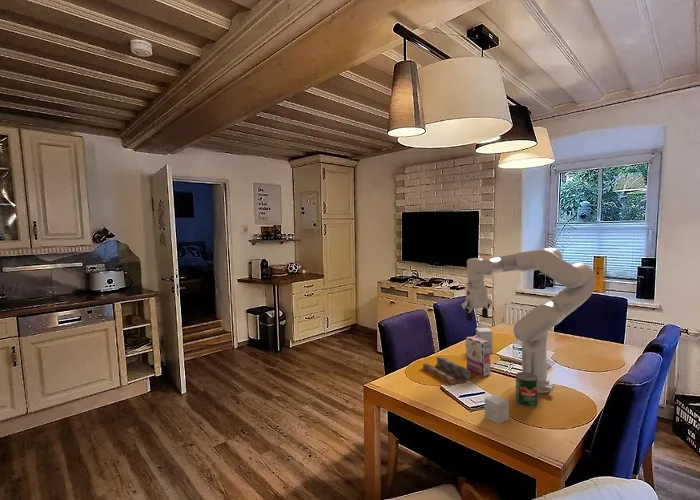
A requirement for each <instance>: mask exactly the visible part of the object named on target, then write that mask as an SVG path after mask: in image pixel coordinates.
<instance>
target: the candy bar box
mask: <svg viewBox="0 0 700 500" xmlns="http://www.w3.org/2000/svg"><path fill="white" fill-rule="evenodd" d="M465 339H466V340H465V341H466V343H465V344H466V346H465V347H466V349H465V350H466V369H467V370H470V373H471V372H472V373H474V374H476V375H477V376H480V377H482V378H484V377H489V376H491V353H490V341H487V340H484V339H481V338H478V337H476V335H470V336H467V337H466V338H465Z"/></svg>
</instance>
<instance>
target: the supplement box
mask: <svg viewBox="0 0 700 500" xmlns="http://www.w3.org/2000/svg"><path fill="white" fill-rule="evenodd" d="M475 337H478V338H481V339H484V340H487V341H490V354H493V353H494V350H493V349H494V347H493V343H494V342H493V331H492V330H491V329H490V327H475Z"/></svg>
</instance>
